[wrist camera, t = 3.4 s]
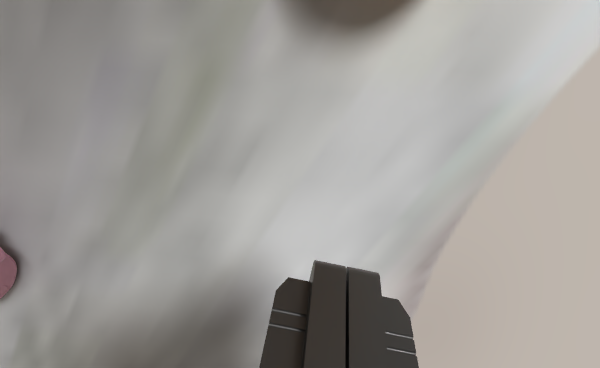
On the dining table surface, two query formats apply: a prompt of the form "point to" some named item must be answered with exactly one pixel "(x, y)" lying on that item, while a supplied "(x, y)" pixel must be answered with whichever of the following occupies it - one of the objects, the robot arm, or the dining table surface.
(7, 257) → the video game controller
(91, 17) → the dining table surface
